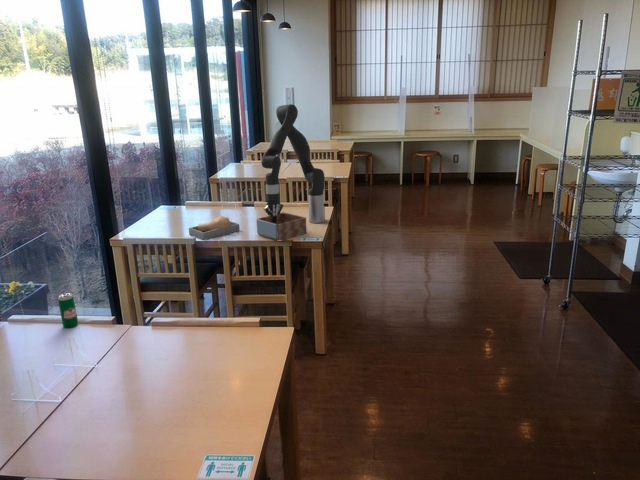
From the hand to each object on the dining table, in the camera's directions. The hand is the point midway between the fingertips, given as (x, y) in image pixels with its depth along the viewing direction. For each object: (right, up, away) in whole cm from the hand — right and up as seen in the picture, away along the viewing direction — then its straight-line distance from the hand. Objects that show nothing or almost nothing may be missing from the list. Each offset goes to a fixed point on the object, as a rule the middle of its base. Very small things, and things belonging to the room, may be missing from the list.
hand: (274, 222), depth 280 cm
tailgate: (-3, -7, -1) cm, 8 cm away
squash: (-36, -5, +13) cm, 39 cm away
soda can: (-65, -41, -98) cm, 125 cm away
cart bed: (+4, -7, +6) cm, 10 cm away
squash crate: (-36, -6, +13) cm, 39 cm away
